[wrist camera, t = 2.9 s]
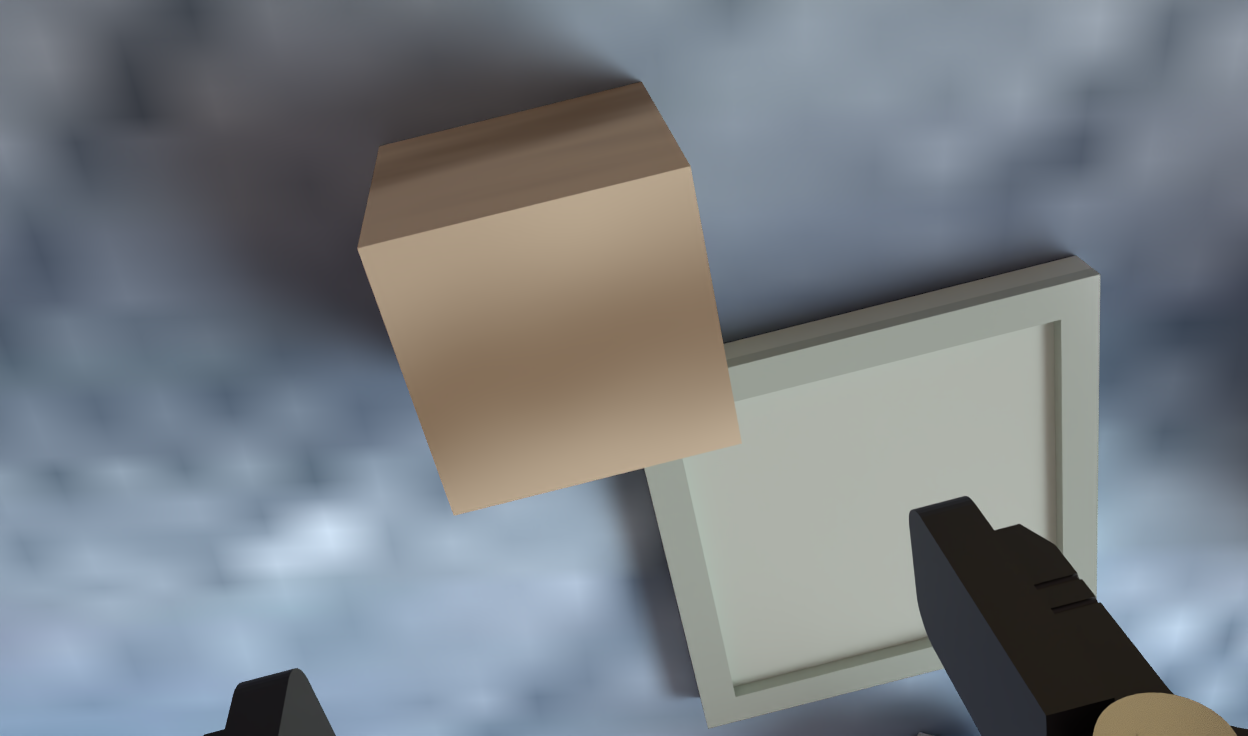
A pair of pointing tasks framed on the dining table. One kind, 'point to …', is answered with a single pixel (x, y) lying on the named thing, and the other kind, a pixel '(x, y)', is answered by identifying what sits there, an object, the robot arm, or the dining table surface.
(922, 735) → the die
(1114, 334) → the dining table surface
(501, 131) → the maple cube
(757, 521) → the coaster
